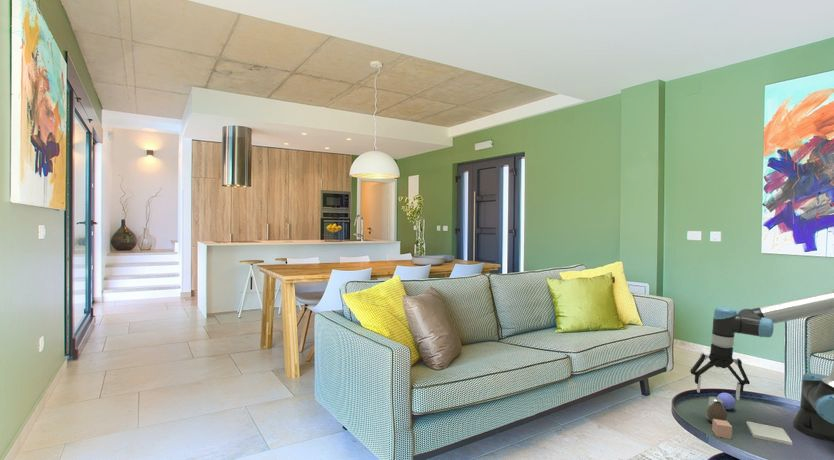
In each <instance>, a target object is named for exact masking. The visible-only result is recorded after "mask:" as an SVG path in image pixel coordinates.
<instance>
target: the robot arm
mask: <svg viewBox="0 0 834 460" xmlns="http://www.w3.org/2000/svg"><path fill="white" fill-rule="evenodd" d="M830 313H834V289H833V290H832V291H828V292H824V293H819V294H815V295H809V296H805V297H802V298H801V297H800V298H796V299H791V300H787V301H783V302H782V301H781V302H779V303H774V304H768V305H764V306H760V307H755V308H741V309H739V310H738V311H737V310H736V309H735V308H732V307H726V306H717V307H715V308H714V312H713V317H712V318H713V319H712V320H713V321H712V332H711V343H710V351H709V352H710V353H709V354H706V353H704V352H701V353H700V356H699V358H698V359H697V361H696V362H695V363H694V365H693V366H692V367H691V369H690V370H689V372H690V373H691V375H694V384H697V385H696V392H697V393H701V392H700V391H701V383H702V382H701V381H702V376H701V375H704V373H705V372H707V371H708V370H709V369H712V368H713V367H715V368H722V369H727V370H729V371H730V373H731V374H732V375H733V376H734V377H735V379H736V380H737V382H736V387H735V388H736V389H735V400H737V401H740V397H741V393H743V392H744V386H745V385H750V380H749V379H748V375H747V374H746V372H745V370H744V368H743V362H742V360H741V358H734V357H733V353H734V346H735V345H734V344H735V342H734V341H735V334H741V335H748V336H753V337H754V336H755V337H760V338H771V337H772V336H773V334H774V328H775V327H774V324H778V323H783V322H789V321H794V320H798V319H804V318H809V317H814V316H819V315H820V316H821V315H825V314H830ZM707 359H709V361H708V362H707V363H706V364H704V365H703V366H701V365H702V364H703V363H704V362H705V360H707ZM733 363H734V364H735V365H736V366H737V367H738V369H739V372H740V374H741V376H742V378H743V379H742V378H741V377H740V376H739V374H738V373H737V372H736V371H735V370H734V367H732V366H731V365H732V364H733ZM700 367H701V368H700ZM699 368H700V369H699ZM801 382H802V383H801V392H800V393H801V394H800V406H799V409H798V411H797V413H796V414H795V416H794V418H793V421H792V425H793V427H794V428H795V429H796V430H797V431H799V432H800V433H803V434H805V435H808V436H810V437H813V438H816V439H820V440H824V441H830V440H834V366H833V367H832V370H831V371H830V373H829V375H825V374H819V373H814V372H813V373H812V372H807V373H804V374H803V375H802V379H801Z"/></svg>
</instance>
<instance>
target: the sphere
mask: <svg viewBox="0 0 834 460" xmlns="http://www.w3.org/2000/svg"><path fill="white" fill-rule="evenodd" d="M716 397H717V398H720V399H722V400H723V407H724V408H725V410H732V409H733V408H735V407H736V406H737V405H736V403H737V402H736V398H735V396H733V395H732V394H731V393H728V392H721V393H719V394H718V395H717V396H716Z"/></svg>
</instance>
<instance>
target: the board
mask: <svg viewBox="0 0 834 460" xmlns="http://www.w3.org/2000/svg"><path fill="white" fill-rule="evenodd" d="M745 425H746V426H747V428H748V430H749V432H750V434H751V436H752V438H755V439H759V440H764V441H769V442H773V443H774V442H775V443H779V444H784V445H788V446H793V441H792V440H791V438H790V437H789V435H788V433H787V432H786V431H785V430H784V428H782V427H777V426H773V425H767V424H764V423H763V424H762V423H758V422H753V421H747V420H746V422H745Z"/></svg>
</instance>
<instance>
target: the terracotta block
mask: <svg viewBox="0 0 834 460" xmlns="http://www.w3.org/2000/svg"><path fill="white" fill-rule="evenodd" d="M711 423H712V424H711V432H712V431H713V432H714V433H715V434H716V436H719V437H718V438H720V437H722V438H721V439H728V440H731V439H732V434H733V426H732V425H731V424H730V422H729V421H728V420H727V421H725V420H718V419H713V421H712V422H711ZM713 432H712V433H713ZM714 433H713V434H714ZM715 434H714V435H715ZM716 436H715V437H716Z"/></svg>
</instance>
